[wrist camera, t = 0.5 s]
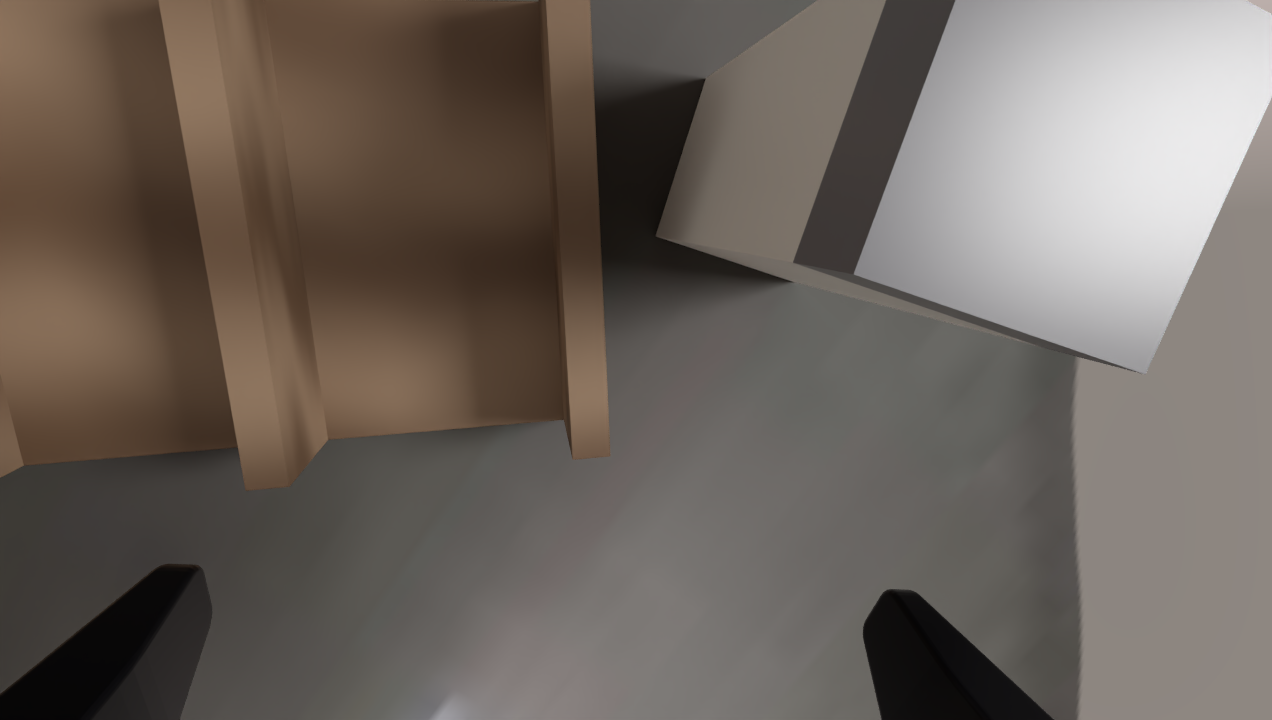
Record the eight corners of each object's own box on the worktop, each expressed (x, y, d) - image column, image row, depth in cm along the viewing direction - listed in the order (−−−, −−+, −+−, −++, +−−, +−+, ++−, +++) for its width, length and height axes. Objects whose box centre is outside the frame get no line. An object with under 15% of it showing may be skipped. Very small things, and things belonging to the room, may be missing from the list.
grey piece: (793, 282, 22) (1145, 374, 10) (655, 235, 21) (853, 274, 9) (846, 134, 22) (1301, 30, 9) (705, 78, 20) (1003, -130, 8)
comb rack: (592, 408, 22) (610, 456, 18) (-326, 483, 18) (-592, 570, 14) (572, 12, 19) (588, -45, 15) (-512, -2, 15) (-917, -84, 11)
